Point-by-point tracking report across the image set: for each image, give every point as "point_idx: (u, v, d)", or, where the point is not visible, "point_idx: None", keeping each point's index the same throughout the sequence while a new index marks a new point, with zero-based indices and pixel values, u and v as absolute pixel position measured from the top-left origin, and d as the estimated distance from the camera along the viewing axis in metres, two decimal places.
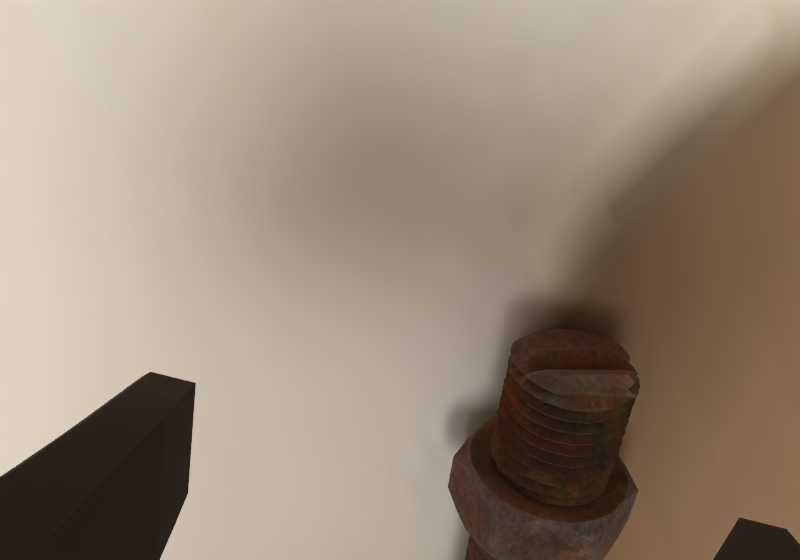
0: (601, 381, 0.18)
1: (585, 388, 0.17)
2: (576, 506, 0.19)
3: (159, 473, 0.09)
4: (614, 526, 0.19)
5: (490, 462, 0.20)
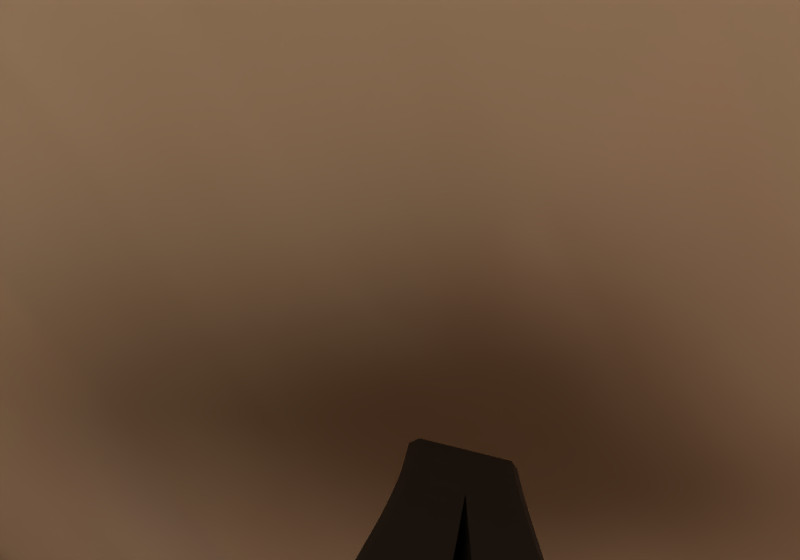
0: None
1: None
2: None
3: None
4: None
5: None
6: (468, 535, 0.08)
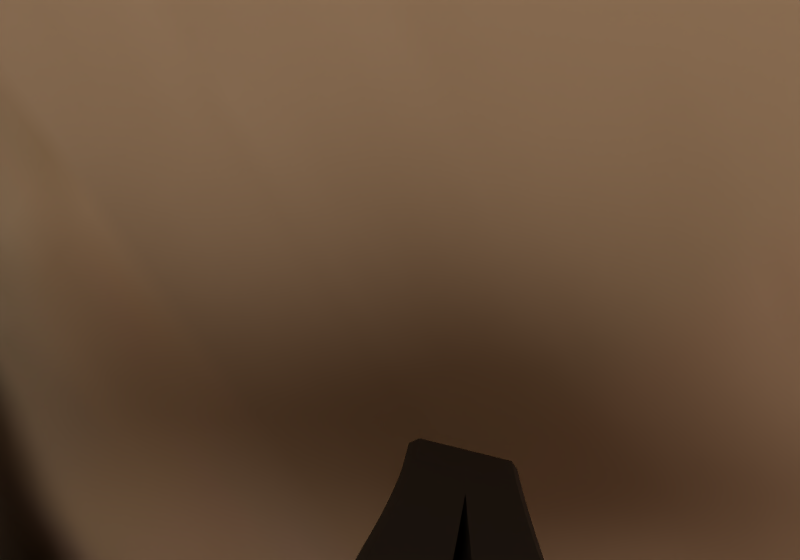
0: None
1: None
2: None
3: None
4: None
5: None
6: (468, 535, 0.08)
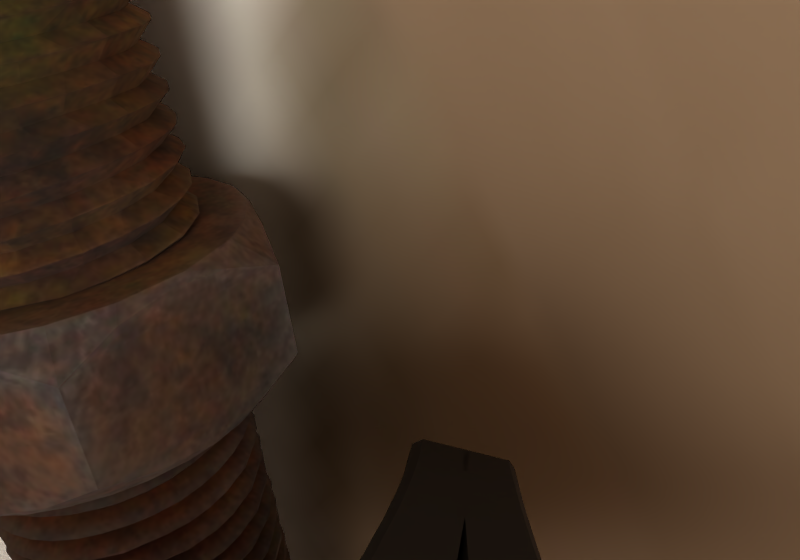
0: None
1: None
2: (31, 305, 0.07)
3: None
4: (172, 350, 0.07)
5: None
6: (465, 534, 0.08)
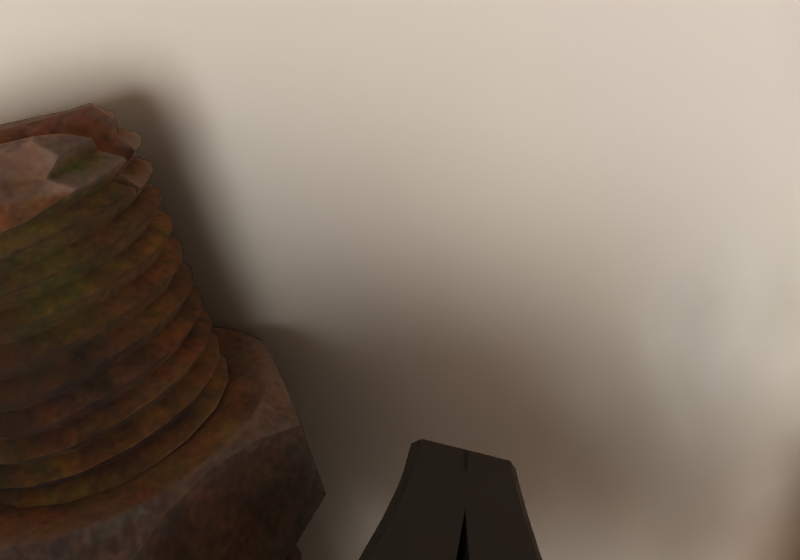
0: None
1: None
2: (93, 495, 0.08)
3: None
4: (215, 520, 0.08)
5: None
6: (466, 534, 0.08)
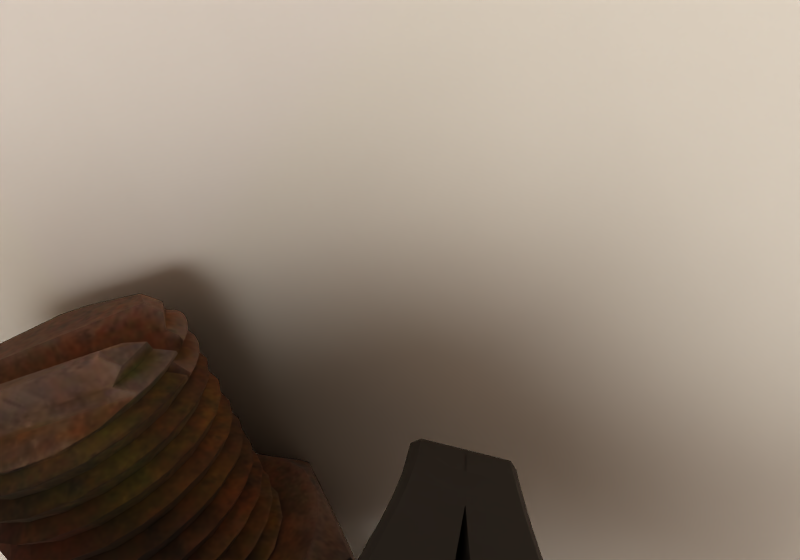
0: (41, 391, 0.08)
1: (11, 419, 0.08)
2: None
3: None
4: None
5: None
6: (466, 535, 0.08)
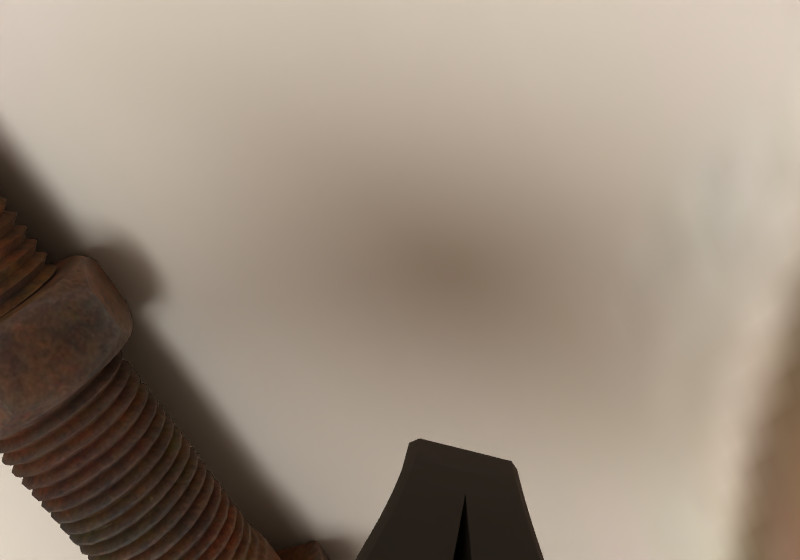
0: None
1: None
2: None
3: None
4: (35, 342, 0.14)
5: None
6: (468, 535, 0.08)
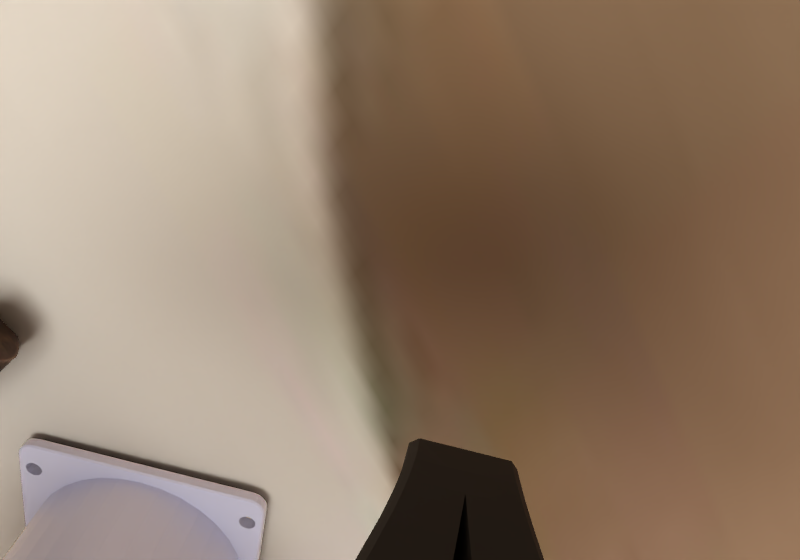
0: None
1: None
2: None
3: None
4: None
5: None
6: (468, 535, 0.08)
